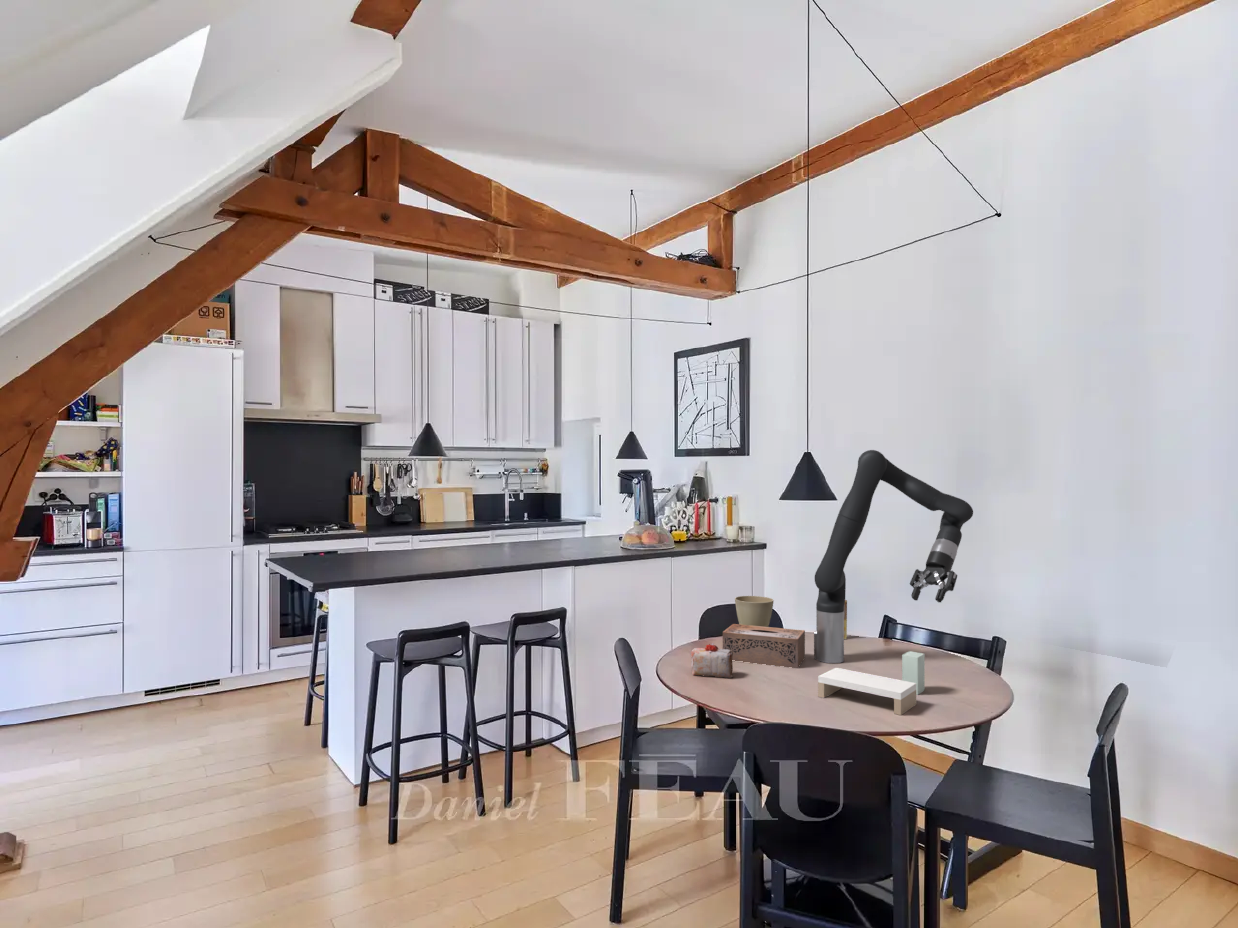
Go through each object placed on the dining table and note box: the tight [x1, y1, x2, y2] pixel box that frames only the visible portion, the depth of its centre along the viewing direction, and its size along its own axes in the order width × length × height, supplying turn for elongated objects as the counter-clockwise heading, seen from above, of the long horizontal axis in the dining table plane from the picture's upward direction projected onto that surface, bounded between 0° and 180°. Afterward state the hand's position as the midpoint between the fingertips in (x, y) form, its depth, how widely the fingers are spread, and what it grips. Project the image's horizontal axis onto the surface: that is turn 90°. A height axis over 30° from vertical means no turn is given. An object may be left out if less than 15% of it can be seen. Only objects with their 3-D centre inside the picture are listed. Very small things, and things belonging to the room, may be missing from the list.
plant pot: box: [734, 595, 775, 627], centre depth 281 cm, size 15×15×16 cm
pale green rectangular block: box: [901, 650, 926, 696], centre depth 217 cm, size 4×6×11 cm
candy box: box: [844, 599, 848, 640], centre depth 282 cm, size 9×4×15 cm, turn 116°
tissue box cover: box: [722, 623, 806, 669], centre depth 253 cm, size 26×14×10 cm, turn 66°
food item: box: [690, 642, 734, 679], centre depth 234 cm, size 14×8×10 cm, turn 74°
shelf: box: [817, 667, 917, 716], centre depth 208 cm, size 24×12×6 cm, turn 49°
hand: (925, 600), depth 226 cm, fingers open, 8 cm apart
